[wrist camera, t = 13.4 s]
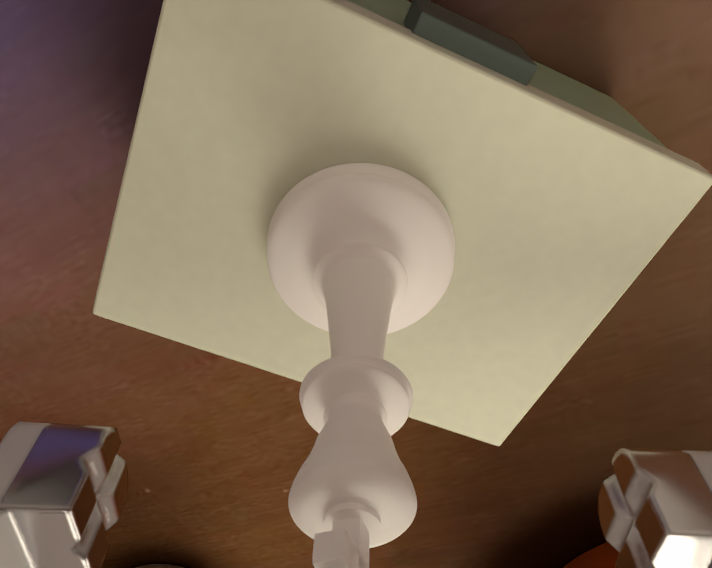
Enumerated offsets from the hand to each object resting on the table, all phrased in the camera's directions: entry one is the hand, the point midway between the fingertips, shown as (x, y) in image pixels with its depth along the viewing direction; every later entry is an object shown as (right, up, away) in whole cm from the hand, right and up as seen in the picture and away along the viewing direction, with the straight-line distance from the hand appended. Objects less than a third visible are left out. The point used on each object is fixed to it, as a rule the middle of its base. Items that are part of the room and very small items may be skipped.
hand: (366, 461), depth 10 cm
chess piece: (0, +4, +6) cm, 7 cm away
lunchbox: (+1, +8, +12) cm, 14 cm away
